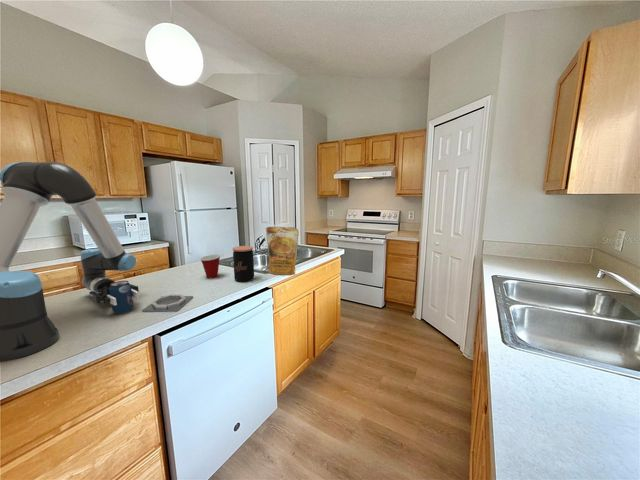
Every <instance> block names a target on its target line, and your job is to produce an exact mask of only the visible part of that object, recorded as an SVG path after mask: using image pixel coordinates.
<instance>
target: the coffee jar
mask: <svg viewBox="0 0 640 480" xmlns="http://www.w3.org/2000/svg"><path fill="white" fill-rule="evenodd" d="M253 250H254V247H253V246H251V245H239V246H235V247H233V248H232V251H233V252H232V259H233V260H232V261H233V274H234V280H235V282H239V283H247V282H251V281H253V280H254V278H255V265H254V264H255V261H254V251H253Z"/></svg>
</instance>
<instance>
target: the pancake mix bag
mask: <svg viewBox="0 0 640 480" xmlns="http://www.w3.org/2000/svg"><path fill="white" fill-rule="evenodd" d="M265 233H266V240H267V241H266V243H267V252H268V263H269V269H268V270H269V271H268V274H271V275H276V276H294V275H296V262H297V253H298V245H299V229H298V228H297V227H295V226H294V227H291V226H290V227H286V226H267V227H265Z"/></svg>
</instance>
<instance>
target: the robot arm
mask: <svg viewBox="0 0 640 480" xmlns="http://www.w3.org/2000/svg"><path fill="white" fill-rule="evenodd" d="M0 181H1V182H0V184H1V186H2V187H1V189H0V191H1V193H3V194H4V197H3V199H2V200H1V202H0V362H5V361H10V360H15V359H19V358H24V357H26V356H29V355H32V354H33V355H34V354H35V353H38V352H40V351H42V350H44V349H46V348H48V347H51V346H52V345H54V344H55V343H56V342H57V341H58V340H59V339H60V332H59V329H58V328H57V327H56V325H55V323H54V322H53V321H52V319H50V318H49V316H48V312H47V307H46V300H45V297H44V295H45V294H44V290H43V283H42V282H41V279H40V276H39V274H37V273H35V272H33V271H29V270H28V271H27V270H13V271H11V270H10V267H11V265H12V263H13V261H14V259H15V257H16V255H17V253H18V251H19V249H20V247H21V245H22V244H23V242H24V239H25V237H26V235H27V234H28V231H29V230H30V227H31V225H32V223H33V221H34V219H35V218H36V216H37V214H38V212H39V210H40V208H41V207H42V206H47V205H48V204H50V201H51V199H52V197H53V196H59V197H60V198H61V199H62V201H63V202H64V203H65V204H67V205H68V206H71V209H73V211H74V213H75V214H76V216H77V218H78V219H79V221H80V222H81V224H82V225H83V228H85V230H86V231H87V233H88V235H89V236H90V238H91V239H92V241H93V242H94V245H96V247H97V248H88V249H87V248H86V249H84V250H82V251H81V252H80V263H81V267H82V272H83V278H82V280H81V281H82V282H81V283H82V285H83V287H84V288H85V289H86V290H88V291H89V292H88V293H89V298H90V299H93V301H95V303H96V304H101V303H102V302H103V304H104V305H107V304H108V303H109V304H110V305H111V304H112V305H114V306H115V305H117V303H116V298H114V297H112V296H110V292H109V288H110V286H111V285H110V284H111V283H114V282H116V281H114V280H113V279H111V278H109V277H107V274H106V271H114V272H115V271H116V272H117V271H119V272H126V271H127V272H128V271H131V270H133V269H134V268H135V267H136V266H137V258H136V257H135V255H133V254H131V253H127V252H126V251H125V250H124V249H125V248H124V247H123V245H122V243H121V242H120V240H119V239H118V237H117V235H116V233H115V232H114V230H113V228H112V226H111V224H110V223H109V221H108V218H107V217H106V216H105V214H104V212H103V210H102V208H101V207H100V205H99V204H98V201H97V199H96V198H97V193H96V192H95V190H94V187H92V185H91V183H89V181H88V180H87V179H86V178H85V177H84V176H83V175H82V174H81V173H80V172H79V171H77V170H76V169H75V168H73V167H71V166H70V165H68V164H65V163H62V162H56V161H40V162H39V161H38V162H35V161H34V162H33V161H19V162H14V163H10V164H7V165H6V166H4V167H3V168H2V169H1V171H0ZM129 284H130V285H131V290H132V297H133V298H134V299H137V300H138V299H140V293H139V292H140V290H139V286H138V285H134V284H131V283H129ZM112 305H111V306H112Z"/></svg>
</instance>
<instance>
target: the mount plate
mask: <svg viewBox="0 0 640 480" xmlns="http://www.w3.org/2000/svg"><path fill="white" fill-rule="evenodd" d="M193 298H194V296H193V295H183V294H168V295H164V296H160V297H157V298H156V299H154V300H153V301H152V302H151V303H150V304H148V305H147V306H146V307H144V308H143V309H141V313H158V312H159V313H161V312H162V313H166V312H167V313H168V312H170V313H171V312H173V313H174V312H175V313H176V312H179V311H180V310H181V309H182V308H184V307H185V306H186V305H187V304H188V303H189V302H190V301H191V300H192V299H193Z"/></svg>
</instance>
